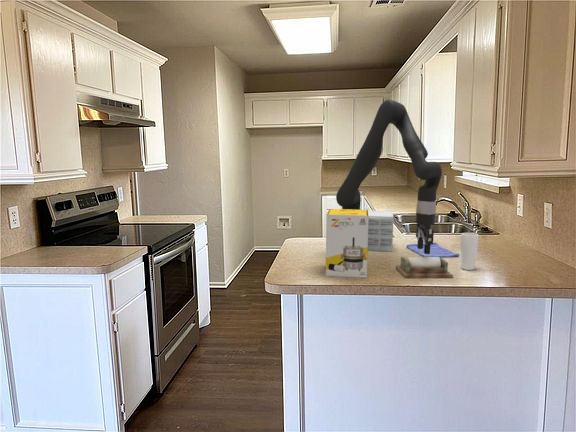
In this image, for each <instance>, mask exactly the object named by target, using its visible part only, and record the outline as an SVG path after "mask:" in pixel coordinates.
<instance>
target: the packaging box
mask: <svg viewBox="0 0 576 432" xmlns="http://www.w3.org/2000/svg"><path fill="white" fill-rule="evenodd" d="M368 211H369V210H368V209H360V210H351V209H342V208H339V209H337V208H335V209H334V208H331V209H328V211H327V213H326V216H325V217H326V220H325V221H326V224H325V226H326V227H325V229H326V230H325V231H326V233H325V277H338V278H339V277H340V278H344V277H345V278H356V279H357V278H361V279H367V278H368V252H369V251H368V217H369V215H368Z"/></svg>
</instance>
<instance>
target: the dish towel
mask: <svg viewBox="0 0 576 432" xmlns="http://www.w3.org/2000/svg"><path fill="white" fill-rule="evenodd" d="M417 245H418V243H410V244H407V245H406V248H407V249H408V250H410V251H412V252H413V253H415V254H418V255H419V256H420V257H441V258H442V259H452V258H460V256H461V255H460V254H461V253H455V252H453V251H452V250H449V249H448V248H445V247H443V246H441V245H440V244H438V243H437V242H433V244H431V245H430V254H424V245H425V244H424V243H423V249H418V248H417Z"/></svg>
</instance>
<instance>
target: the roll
mask: <svg viewBox="0 0 576 432" xmlns="http://www.w3.org/2000/svg"><path fill="white" fill-rule="evenodd" d="M406 260H407V261H409V262H410V268H441V261H440V258H439V257H423V256H408V257H407V258H406Z"/></svg>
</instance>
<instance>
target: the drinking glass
mask: <svg viewBox="0 0 576 432" xmlns="http://www.w3.org/2000/svg"><path fill="white" fill-rule="evenodd" d="M479 238H480V237H479V234H478V233H475V232H462V233H461V237H460V254H461V255H460V256H461V257H460V258H461V261H460V268H461V269H463V270H465V271H473V270H475V269H476V262H477V261H476V260H477V254H478V248H479V241H480V240H479Z"/></svg>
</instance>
